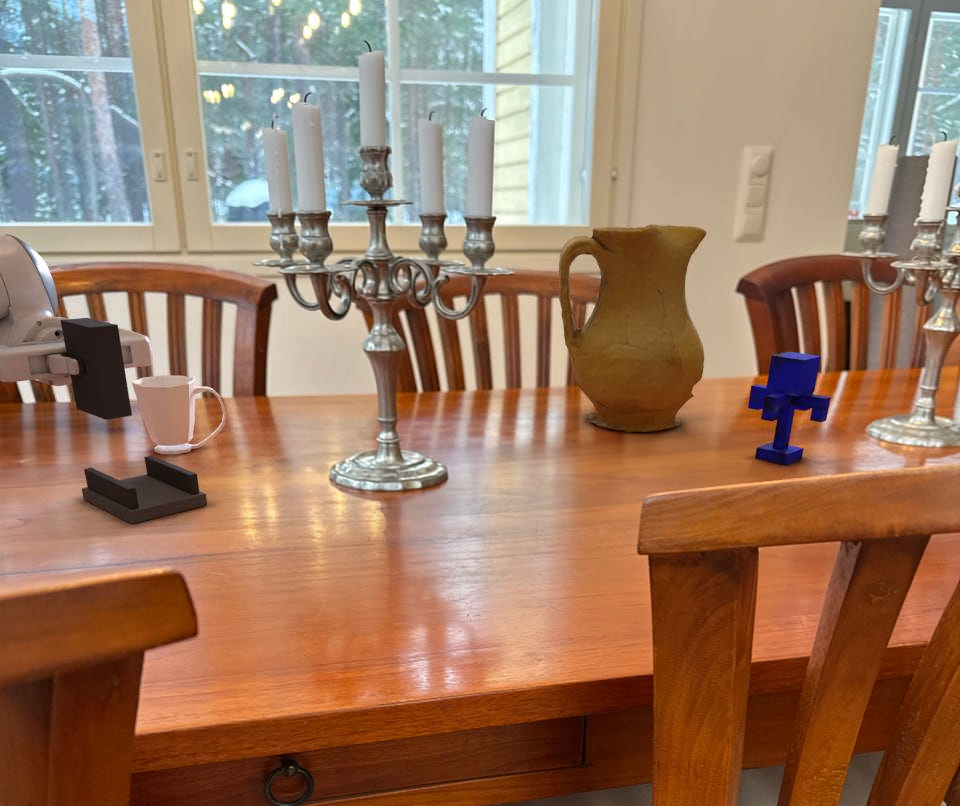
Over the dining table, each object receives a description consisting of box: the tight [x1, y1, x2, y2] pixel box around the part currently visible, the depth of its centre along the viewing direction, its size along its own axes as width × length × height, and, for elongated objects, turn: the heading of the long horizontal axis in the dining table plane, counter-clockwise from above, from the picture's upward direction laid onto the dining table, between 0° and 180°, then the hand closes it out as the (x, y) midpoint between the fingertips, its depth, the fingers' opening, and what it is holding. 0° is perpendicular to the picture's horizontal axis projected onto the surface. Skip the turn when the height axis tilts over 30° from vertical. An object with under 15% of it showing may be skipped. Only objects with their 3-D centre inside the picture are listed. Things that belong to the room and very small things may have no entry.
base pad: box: [81, 455, 208, 525], centre depth 89 cm, size 8×10×3 cm
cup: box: [131, 374, 227, 455], centre depth 105 cm, size 7×10×8 cm
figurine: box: [747, 351, 832, 466], centre depth 105 cm, size 8×8×12 cm
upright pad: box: [60, 317, 133, 421], centre depth 112 cm, size 4×8×11 cm, turn 47°
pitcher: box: [558, 223, 707, 433], centre depth 118 cm, size 17×19×25 cm
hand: (99, 364), depth 111 cm, fingers closed on upright pad, 3 cm apart
